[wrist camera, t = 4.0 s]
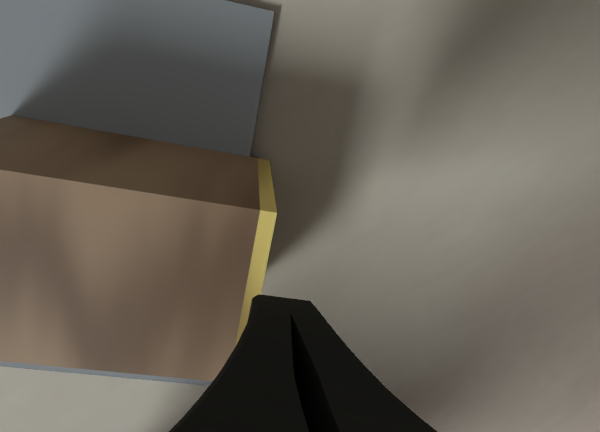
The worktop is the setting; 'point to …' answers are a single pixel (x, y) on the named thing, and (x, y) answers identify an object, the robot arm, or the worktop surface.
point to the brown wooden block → (127, 250)
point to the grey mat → (137, 76)
